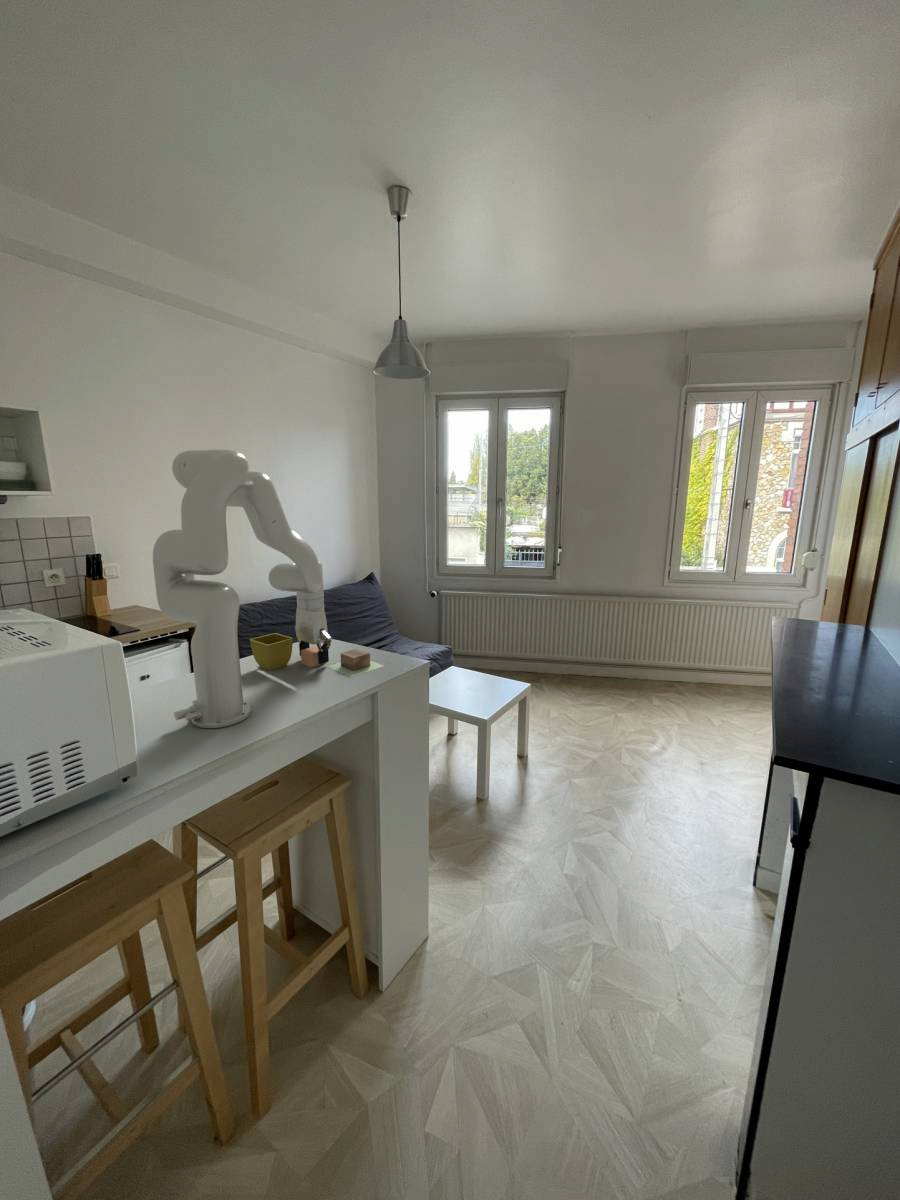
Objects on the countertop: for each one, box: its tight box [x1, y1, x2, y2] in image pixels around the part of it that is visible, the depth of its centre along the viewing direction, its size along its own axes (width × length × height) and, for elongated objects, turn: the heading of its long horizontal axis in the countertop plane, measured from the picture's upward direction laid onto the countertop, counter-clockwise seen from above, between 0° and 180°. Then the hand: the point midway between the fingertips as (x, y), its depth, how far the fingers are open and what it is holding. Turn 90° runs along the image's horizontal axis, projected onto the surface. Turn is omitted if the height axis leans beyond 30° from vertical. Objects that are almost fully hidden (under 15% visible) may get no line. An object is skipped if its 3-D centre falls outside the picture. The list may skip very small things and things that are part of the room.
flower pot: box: [249, 632, 294, 671], centre depth 143 cm, size 9×9×9 cm
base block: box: [340, 648, 371, 671], centre depth 143 cm, size 6×6×4 cm
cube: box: [300, 645, 326, 668], centre depth 145 cm, size 5×5×5 cm
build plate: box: [326, 660, 385, 678], centre depth 144 cm, size 12×12×1 cm
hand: (314, 658), depth 146 cm, fingers open, 9 cm apart
